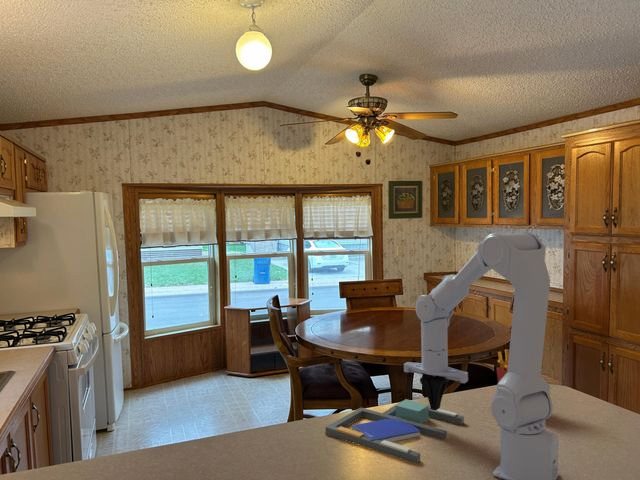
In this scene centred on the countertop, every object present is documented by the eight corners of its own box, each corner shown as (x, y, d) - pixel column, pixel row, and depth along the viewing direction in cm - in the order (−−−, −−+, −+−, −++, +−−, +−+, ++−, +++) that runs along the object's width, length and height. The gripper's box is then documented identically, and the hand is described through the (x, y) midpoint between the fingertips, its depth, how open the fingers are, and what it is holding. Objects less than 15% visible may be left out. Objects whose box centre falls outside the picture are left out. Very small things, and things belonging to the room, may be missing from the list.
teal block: (428, 419, 112) (428, 404, 112) (419, 426, 108) (419, 411, 108) (405, 413, 116) (405, 399, 116) (395, 420, 112) (395, 405, 112)
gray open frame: (446, 437, 103) (446, 428, 103) (416, 463, 92) (416, 454, 92) (360, 413, 116) (360, 405, 116) (325, 433, 105) (325, 425, 105)
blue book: (370, 439, 98) (420, 430, 104) (351, 424, 106) (398, 415, 111) (370, 447, 98) (419, 437, 104) (351, 431, 106) (398, 422, 111)
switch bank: (463, 422, 110) (463, 414, 110) (446, 437, 103) (446, 428, 103) (401, 407, 120) (401, 399, 120) (382, 419, 113) (382, 411, 113)
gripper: (472, 349, 106) (473, 410, 106) (413, 340, 115) (414, 396, 115) (460, 356, 101) (461, 420, 101) (399, 346, 110) (400, 405, 110)
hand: (435, 408), depth 108 cm, fingers closed
